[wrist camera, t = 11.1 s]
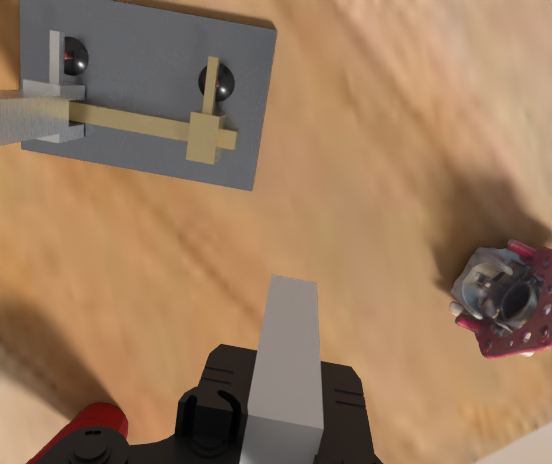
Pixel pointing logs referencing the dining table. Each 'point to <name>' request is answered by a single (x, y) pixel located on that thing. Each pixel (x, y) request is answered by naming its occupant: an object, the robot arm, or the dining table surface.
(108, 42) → the bolt plate
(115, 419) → the plastic cup
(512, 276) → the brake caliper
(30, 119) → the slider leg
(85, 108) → the gauge rail
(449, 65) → the dining table surface
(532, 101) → the dining table surface
